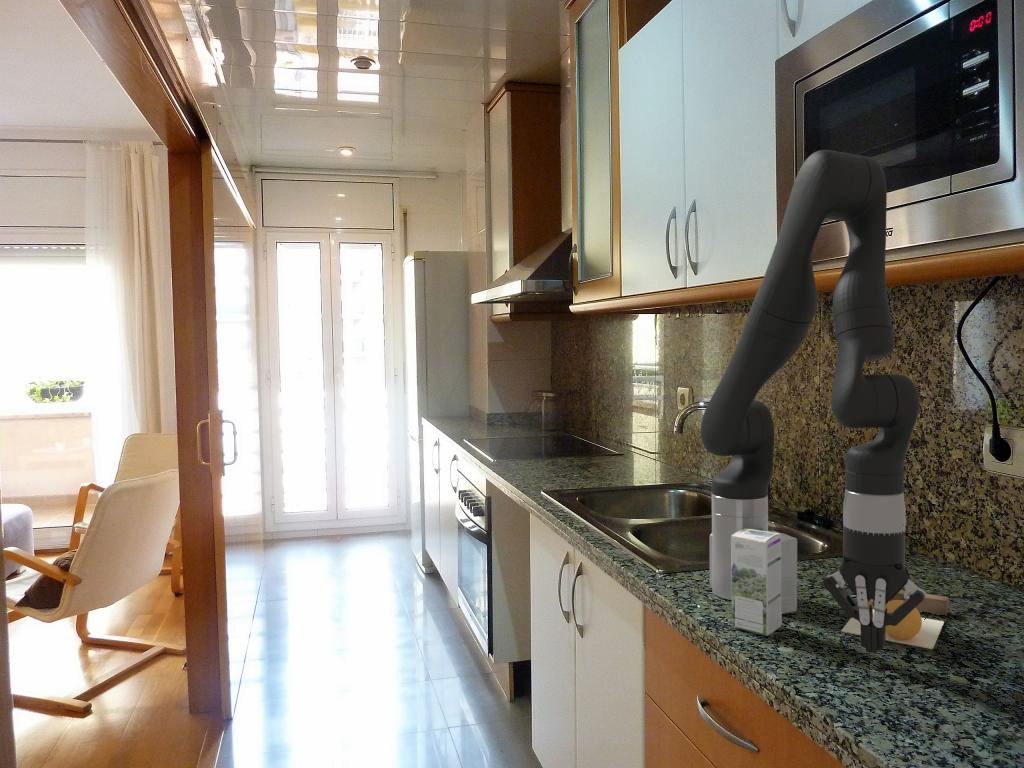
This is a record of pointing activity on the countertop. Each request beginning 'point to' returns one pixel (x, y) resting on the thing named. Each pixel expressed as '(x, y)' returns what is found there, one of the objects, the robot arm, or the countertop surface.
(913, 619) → the ball
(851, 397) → the robot arm
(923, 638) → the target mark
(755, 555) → the syrup box
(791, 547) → the skincare box
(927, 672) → the countertop surface
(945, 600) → the stop rail
